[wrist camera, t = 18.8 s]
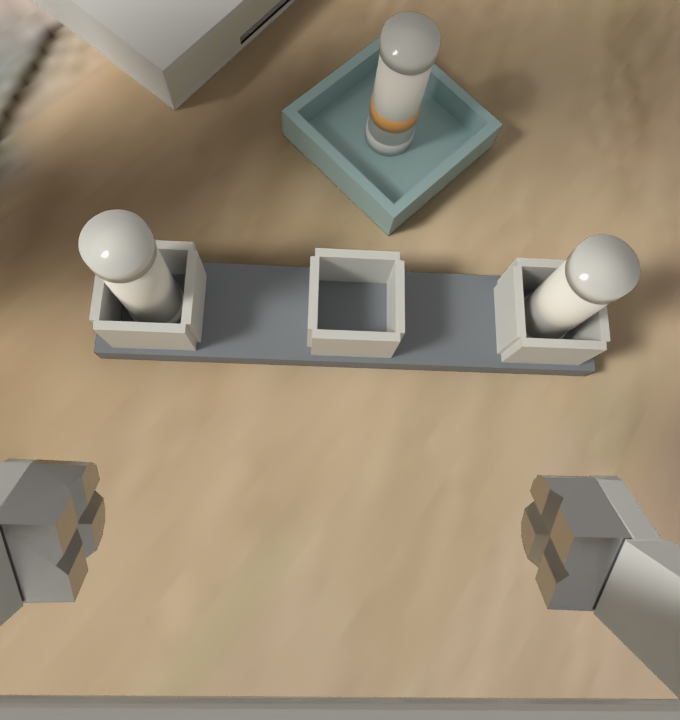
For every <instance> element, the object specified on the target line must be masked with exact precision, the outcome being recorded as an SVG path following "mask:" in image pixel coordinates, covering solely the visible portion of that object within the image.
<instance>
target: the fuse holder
mask: <svg viewBox="0 0 680 720" xmlns="http://www.w3.org/2000/svg"><path fill="white" fill-rule="evenodd" d="M155 241H156V245H157V248H158V250H159V251H160V253H161V255H162V257H163V259H164V261H165V263H166V265H167V267H168V268H169V270H170V272H171V274H172V276H173V278H174V280H175V282H177V284H178V285H179V286H180V288H181V290H182V292H183V294H184V296H183V306H182V316H181V322H180V323H179V324H176V323H151V322H135V321H134V320H133V318H132V317H131V316H130V314H129V312H128V310H127V309H126V308H125V306H124V305H123V304H122V303H121V302H120V300H119V299H118V298H117V297H116V296H115V294H114V293H113V292H112V291H111V290H110V288H109V287H108V286H107V285H106V284H105V282H104V281H103V280H102V279H101V278H100V277H98V276H97V275H96V274H95V280H94V287H93V294H92V301H91V309H90V316H89V321H91V322H92V323H93V330H94V331H95V332H96V333H97V334H96V341H95V348H94V353H95V354H96V355H98V356H99V357H100V358H107V359H134V360H161V361H189V362H216V363H243V364H270V365H297V366H324V367H351V368H378V369H405V370H432V371H459V372H486V373H513V374H540V375H567V376H587V375H589V374H591V373H593V372H595V361H594V357H595V356H597V355H598V354H600V353H602V352H604V351H606V350H607V345H606V343H608V342H610V341H611V340H610V331H609V321H608V311H607V306H605V307H604V308H602V309H601V310H599V311H598V312H596V313H595V314H593V315H592V316H591V317H589V318H588V319H586V320H585V321H583V322H582V323H580V324H579V325H577V326H576V327H575V328H573V329H572V330H570V331H569V332H567V333H566V334H565V336H564V337H562V338H561V339H545V338H526V324H525V309H524V298H525V297H526V296H528V295H530V294H531V293H532V292H533V291H534V290H535V289H537V288H538V287H539V286H540V285H541V284H542V283H543V282H544V281H545V280H546V279H547V278H548V277H549V276H550V275H551V274H552V273H553V272H554V271H555V270H556V269H557V268H558V267H559V266H560V265H561V264H562V263H563V262H565V261H566V260H554V259H533V258H516V259H515V260H514V262H513V263H512V264H511V265H510V266H509V268H508V269H507V270H506V271H505V272H504V274H503V275H502V276H489V275H468V274H446V273H425V272H405V270H404V261H403V260H400V252H390V251H369V250H349V249H328V248H315V256H310V267H297V266H276V265H254V264H233V263H212V262H202V261H201V259H200V256H199V254H198V251H197V250H196V247H195V245H194V242H185V241H164V240H155Z"/></svg>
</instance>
